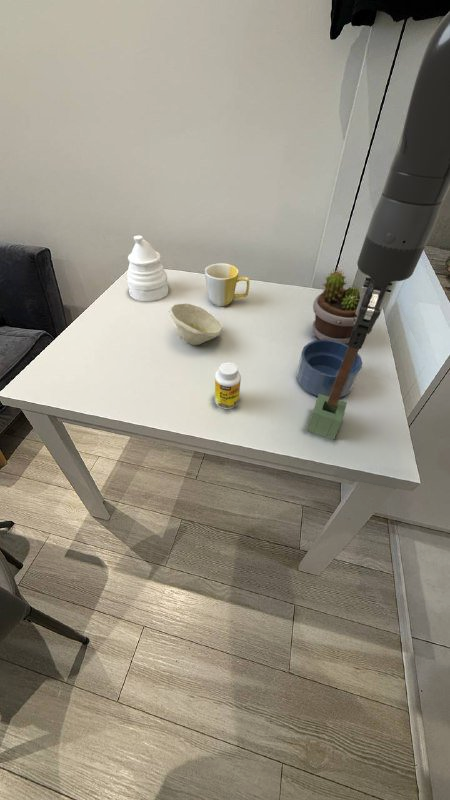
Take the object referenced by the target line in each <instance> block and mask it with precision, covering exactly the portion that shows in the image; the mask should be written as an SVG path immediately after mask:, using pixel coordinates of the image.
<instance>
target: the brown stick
mask: <svg viewBox="0 0 450 800" xmlns="http://www.w3.org/2000/svg"><path fill="white" fill-rule="evenodd" d="M359 350H360V349H355V348H352V347H349V346H348V348H347V350H346V353H345V356H344V359H343V361H342V364H341V367H340V369H339V372H338V375H337V377H336V380H335V383H334V386H333V388H332V391H331V394H330V396H329V399H328V402H327V405H330V406H333V407H336V405H337V403H338V400H340V398H341V397H340V395H341V393H342V390H343V388H344V386H345V383H346V381H347V378H348V376H349V373H350V371H351V368H352V366H353V363H354V361H355V358H356V356H357V353H358V354H359Z"/></svg>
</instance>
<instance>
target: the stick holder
mask: <svg viewBox="0 0 450 800" xmlns="http://www.w3.org/2000/svg"><path fill="white" fill-rule="evenodd" d="M328 399H329V397H328V396H325V395H322V394H319V396H317V398H316V401H315V405H314V408H313V410H312V412H311V413H312V414H311V416H310V419H309V422H308V424H307V427H306V431H307V432H309V433H313V434H316V435H318V436H321V437H324V438H327V439H330V440H335V438H336V436H337V434H338V432H339V429H340V427H341V424H342V422H343V420H344V415H345V412H346V408H347V404H348V402H346V401H344V400H340V399H339V400H338V403H337V405H336V407H333V406H330V405H327V402H328Z"/></svg>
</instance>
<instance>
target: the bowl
mask: <svg viewBox="0 0 450 800" xmlns="http://www.w3.org/2000/svg"><path fill="white" fill-rule="evenodd" d="M168 313H169V314H170V317H171V319H172V321H173V322H174V323H175V325H176V327H177V330H176V331H177V335H178V337H179V338H180V340H182V341H183V342H185V343H187V344H190V345H193V346H199V345H202V344H203V343H205V342H208V341H210V340H213V339H215V338H216V337H218V336H221V335H222V334H224V328H223V326H222V324H221V322H220V321H219V320H218V319H217V318H216V317H215V316H214V315H213V314H211V313H210V312H208V311H207V310H205V309H204V308H202V307H201V306H197V305H194V304H190V303H178V304H174V305H172V306H170V308H169V310H168Z"/></svg>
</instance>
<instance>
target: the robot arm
mask: <svg viewBox="0 0 450 800" xmlns="http://www.w3.org/2000/svg"><path fill="white" fill-rule="evenodd" d="M422 55H423V56H422V59H421V62H420V65H419V69H418V71H417V74H416V78H415V81H414V84H413V88H412V92H411V96H410V100H409V102H408V103H409V104H408V106H407V112H406V116H405V120H404V123H403V128H402V133H401V138H400V141H399V143H398V146H397V148H396V151H395V153H394V156H393V159H392V161H391V164H390V167H389V170H388V173H387V176H386V179H385V182H384V186H383V187H382V191H381V194H380V197H379V199H378V201H377V204H376V206H375V208H374V210H373V213H372V216H371V218H370V221H369V225H368V228H367V231H366V235H365V237H364V240H363V244H362V247H361V249H360V252H359V255H358V259H357V262H356V264H357V268H358V270H359V271H360V272H361V273H362V274H364V275H365V278H364V281H363V284H362V286H361V290H360V300H359V303H358V306H357V309H356V315H357V319H356V322H354V325H353V330H352V333H351V336H350V340H349V342H348V343H347V345H348V346H349V347H352V348H355V349H359V350H361V349H362V348H363V345H364V343H365V341H366V338H367V335H370V334H371V333H372V331H373V327H374V326H375V323H376V321H377V320H378V319H379V318H380V315H381V313H382V311H383V308H384V305H385V304H386V303H387V302H388V301H389V298H390V296H391V295H392V287H393V284H394V282H402V281H406V280H408V279H410V278H411V277H412V275H413V274H414V272H415V270H416V268H417V265H418V263H419V261H420V259H421V257H422V254H423V253H424V250H425V248H426V246H427V243H428V241H429V239H430V237H431V235H432V233H433V230H434V228H435V226H436V223H437V221H438V218H439V215H440V212H441V208H442V206H443V204H444V200H445V199H446V196H447V195H448V192H449V190H450V10H449V11H448V13H447V14H445V16H443V18H442V19H441V20H440V22H439V23H438V25H437V26H436V28H435V29H434V31H433V32H432V34H431V37H430V39H429V41H428V43H427V45H426V47H425V50H424V52H423V54H422Z"/></svg>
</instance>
